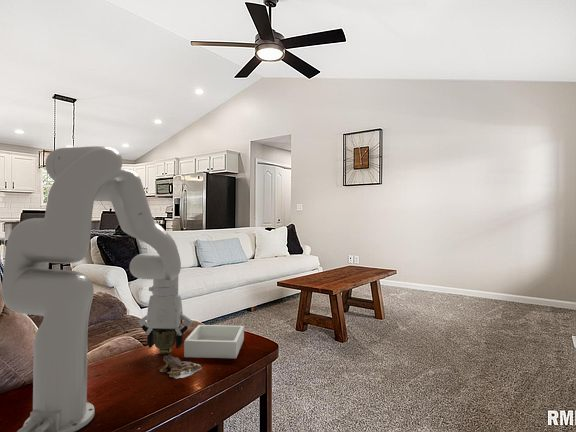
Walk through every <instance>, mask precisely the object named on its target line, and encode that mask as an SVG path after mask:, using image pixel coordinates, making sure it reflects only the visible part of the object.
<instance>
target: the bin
mask: <svg viewBox="0 0 576 432" xmlns="http://www.w3.org/2000/svg"><path fill="white" fill-rule="evenodd" d="M244 340H245V325H223V324H222V325H220V324H219V325H218V324H217V325H216V324H198V325H197V326H196V327H195V328H194V329H193V330H192V331H191V333H190V334H189V335H188V336H187V337H186V338H185V340H183V358H199V359H200V358H201V359H202V358H203V359H204V358H206V359H237V357H238V355H239V353H240V350H241V348H242V345H243V343H244Z"/></svg>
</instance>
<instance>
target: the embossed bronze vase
mask: <svg viewBox="0 0 576 432" xmlns="http://www.w3.org/2000/svg"><path fill="white" fill-rule="evenodd" d="M176 336H177V332H176V331H175V329H153V338H154V346H155V348H156V349H158V353H159V354H160V355H169V354H171V352H172V348H173V347H174V346H175V345H176Z"/></svg>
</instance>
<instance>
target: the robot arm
mask: <svg viewBox="0 0 576 432" xmlns="http://www.w3.org/2000/svg"><path fill="white" fill-rule="evenodd" d="M122 167H123V157H122V154H120V152H119V151H118V150H117V149H115V148H113V147H109V146H98V145H97V146H95V145H94V146H77V147H61V148H55V149H54V150H52V151H51V152H50V153H48V155H47V156H46V159H45V170H46V172H47V174H48V176H49V177H50V178H51V179H52V181H53V182H52V185H51V187H50V189H49V190H48V191H49V192H48V195H47V200H46V208H45V213H44V217H33V218H27V219H24V220H22V221H21V222H19V223H17V224H16V225H15V226H14V227H13V229H12V230H11V231H10V234H9V235H8V238H7V241H6V245H5V246H6V247H5V254H4V262H3V264H4V265H3V270H2V284H1V296H2V297H1V298H2V301H3V303H4V305H5V306H6V308H7V309H8V310H10V311H12V312H14V313H17V314H23V315H31V316H32V315H33V316H39V317H43V320H42V322H41V324H40V325H39V327H38V329H37V331H36V332H35V335H34V339H33V348H32V350H33V366H32V368H33V369H32V370H33V371H32V372H33V374H32V377H33V379H32V386H33V387H32V411H30V413H29V414H30V415H29V417H28V418H27V419H26V420H25V421H24V423H23V425H22V427H21V428H19V429H18V430H17V431H16V432H77V431H79V430H81V429H82V428H84V427H85V426H87V425H88V424H89V423H90V422H91V421H92V420H93V418H94V417H95V414H96V413H95V409H96V408H95V406H94V405H93V404H92V403H90V402H89V401H88V399H87V398H88V396H87V395H88V393H87V392H88V336H89V335H88V332H89V331H88V328H89V319H90V318H89V317H90V312H91V307H92V303H93V299H94V293H95V289H94V284H93V281H92V280H91V278H90V277H88V276H87V275H86V274H84V273H82V272H80V271H75V270H70V269H53V268H52V269H49V264H50V263H51V264H74V263H79V262H80V261H82V260H84V259H85V257H87V255H88V252H89V249H90V243H91V232H92V231H91V230H92V221H93V210H94V205H95V201H96V202H111V204H112V205H111V206H112V208H113V210H114V212H115V213H114V214H115V215H116V218H117V221H118V224H119V226H120V229H121V230H122V231H123V232H124V233H125V234H126V235H128V236H130V237H133V238H135V239H136V240H139V241H140V242H144V243H146V244H147V245H149V246H150V247H151V248H152V249H154V250H155V251H156V252H155V253H148V252H147V253H139V254H136V255H135V256H134V257H133V258H132V259H131V261H130V263H129V272H130V274H131V275H132V276H133V277H134V278H137V279H139V280H141V279H142V280H153V281H152V284H153V285H152V286H149V288H148V291H149V292H151V294H152V295H149V300H148V306H147V312H146V313H147V314H146V315H145V316H143V317H142V318H140V319H139V320H138V321H137V322H138V324H139V325H140V327H141V329H142V330H143V331H144V332H145V334H146V338H147V339H146V341H147V345H148V348H149V349H150V348H152V347H153V346H155V344H154V338H153V329H175V331H176V332H177V336H176V342H175V348H176V349H180V348H181V346H182V345H184V333H185V332H186V331H188V329H189V328H190V327H191V324H192V323H193V320H192V319H190V318H189V317H188V316H186V315H185V314H184V313H183V304H182V297H181V294H179V275H180V273H181V270H182V269H181V268H182V265H181V264H182V263H181V261H182V260H181V257H180V253H179V250H178V245H177V244H176V241H175V240H174V239H173V237H172V235H170V234H169V233H168V232H167V231H166V229H164V227H163V226H162V225H160V224H159V223H158V222H156V220H155V219H154V218H153V216H152V212H151V209H150V205H149V202H148V199H147V195H146V193H145V189H144V186H143V182H142V178H140V176H139V174H138V173H137V172H135V171H134V170H130V169H125V168H122ZM183 322H185V325H184V326H182V324H183Z"/></svg>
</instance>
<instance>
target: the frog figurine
mask: <svg viewBox="0 0 576 432" xmlns="http://www.w3.org/2000/svg"><path fill="white" fill-rule="evenodd" d="M163 362H164V363H166V364H165V365H163V366H162V367H161V368H160V369H159V372H161V373H165V372H166V373H167V374H169V378H174V379H184V378H187V377H190V376H192V375H193V374H195V373H197V372H198V371H200V370H202V365H200V364H199V363H196V362H192V361H187V360H186V361H182V360H181V359H180V358H179V357H177V356H173V355H172V354H171V353H168V354H167V355H164V356H163ZM191 364H192V365H191ZM167 367H168V368H169V369H170V371H168V369H167Z"/></svg>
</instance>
